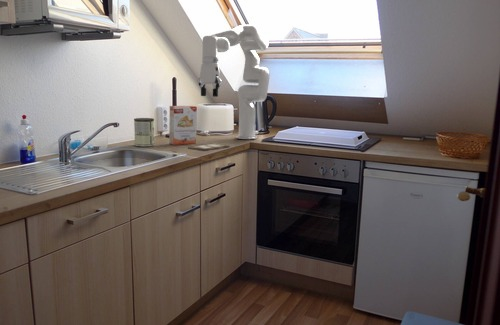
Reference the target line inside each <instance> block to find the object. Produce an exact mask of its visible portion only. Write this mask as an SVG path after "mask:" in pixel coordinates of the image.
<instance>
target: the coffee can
mask: <svg viewBox="0 0 500 325" xmlns="http://www.w3.org/2000/svg"><path fill="white" fill-rule="evenodd" d="M133 122H134V123H133V125H134V146H136V147H153V146H155V119H154V118H152V117H151V118H149V117H136V118H133Z"/></svg>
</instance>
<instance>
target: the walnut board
mask: <svg viewBox="0 0 500 325" xmlns="http://www.w3.org/2000/svg"><path fill="white" fill-rule="evenodd" d="M226 148H230V145H227V144H220V143H206V144H197V145H191V146H187V149H191V150H197V151H202V152H203V151H204V152H205V151H206V152H208V151H213V150H219V149H220V150H221V149H226Z"/></svg>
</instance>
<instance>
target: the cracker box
mask: <svg viewBox="0 0 500 325" xmlns="http://www.w3.org/2000/svg"><path fill="white" fill-rule="evenodd" d="M197 108H198V107H197V106H196V105H169V127H168V128H169V132H168V133H169V138H168V139H169V144H170V145H172V146H176V145H194V144H195V145H196V144H197V120H198V118H197V117H198V116H197V115H198V114H197V113H198V109H197Z"/></svg>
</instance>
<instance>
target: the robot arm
mask: <svg viewBox="0 0 500 325" xmlns="http://www.w3.org/2000/svg"><path fill="white" fill-rule="evenodd" d="M237 45H240V48H241V50H242V52H243V55H244V66H243V67H244V68H243V73H242V74H243V75H242V79H243V81H244V82H245V83H247V84H243V85H240V87H238V90H237V97H238V103H239V106H238V110H239V111H238V135H236V136H235V139H241V140H255V139H257V138H258V136H257V135H258V134H259V130H255V129H256V126H255V125H256V107H255V104H254V103H253V102H256V103H258V102H259V103H261V102H262V103H263V102H265V101H266V99H267V96H268V90H269V85H270V84H269V83H270V72H269V69H268V68H267V67H264V66H260V57H259V55H258V54H257V52H256V51H265V50H266V49H267V48H268V47H269V40H268V38H267V36H266V34H265V33H264V32H263V31H262V29H261V28H260V27H258V26H257V25H256V24H243V25H238V26H236V27H233V28H232V29H229V30H226V31H222V32H219V33H218V32H217V33H214V34H211V35H205V36H203V37H202V56H201V58H202V59H201V60H202V62H201V67H200V71H199V72H200V75H199V76H200V77H198V79H196V80H197V81H196V82H197V84H198V85H199V88H200V96H201V97H206V96H207V88H206V86H207V85H209V84H210V85H212V87H213V88H212V97H215V98H216V97H218V96H219V89H220V86H221V85H222V84H223V79H221V77H220V76H221V74H220V65H219V63H218V62H219V58H218V53H225V52H228V51H229V49H230V47H234V46H237ZM256 84H257V85H256Z"/></svg>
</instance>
